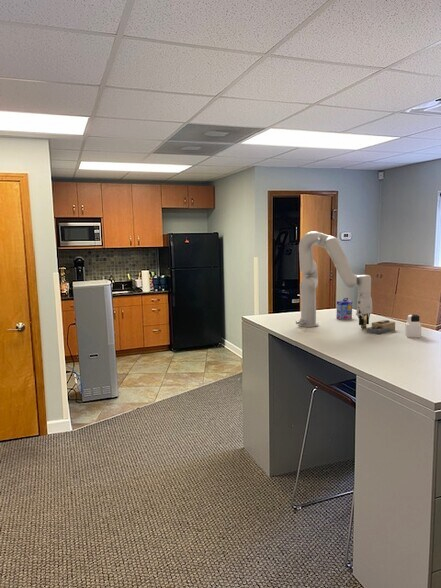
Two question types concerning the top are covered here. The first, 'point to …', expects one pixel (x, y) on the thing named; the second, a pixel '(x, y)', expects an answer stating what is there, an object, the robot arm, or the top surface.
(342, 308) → the ink cartridge box
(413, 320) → the medicine bottle
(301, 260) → the robot arm
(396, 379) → the top surface
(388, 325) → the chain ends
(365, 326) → the pin
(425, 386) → the top surface
